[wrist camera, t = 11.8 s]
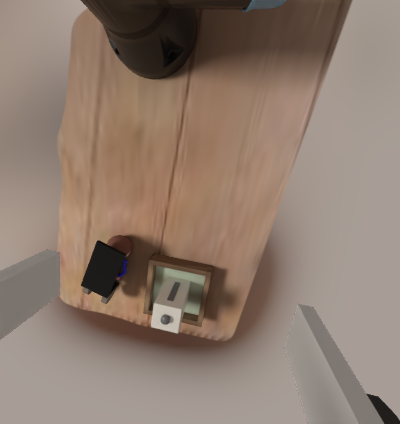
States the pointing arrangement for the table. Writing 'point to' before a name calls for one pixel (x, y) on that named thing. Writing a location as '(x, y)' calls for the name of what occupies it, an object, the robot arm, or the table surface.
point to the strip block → (170, 304)
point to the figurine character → (106, 267)
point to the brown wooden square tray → (183, 270)
